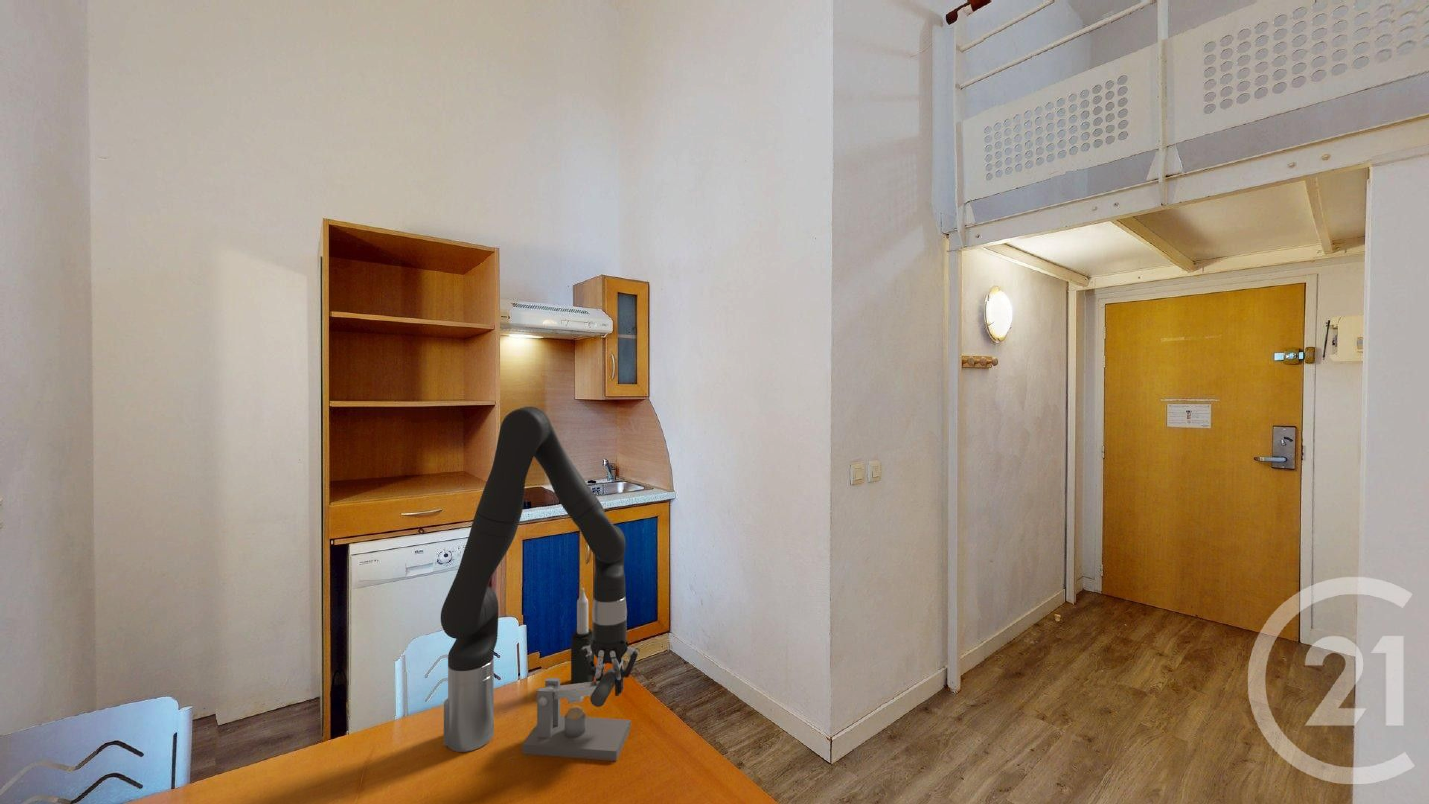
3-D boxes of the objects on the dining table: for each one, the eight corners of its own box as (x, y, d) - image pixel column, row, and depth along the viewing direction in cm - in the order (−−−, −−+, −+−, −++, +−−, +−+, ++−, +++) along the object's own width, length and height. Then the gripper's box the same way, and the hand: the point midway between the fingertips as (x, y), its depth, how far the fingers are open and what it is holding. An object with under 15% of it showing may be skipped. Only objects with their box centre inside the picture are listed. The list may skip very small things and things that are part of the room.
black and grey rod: (587, 688, 140) (587, 592, 140) (569, 686, 141) (569, 590, 141) (595, 678, 145) (595, 585, 145) (578, 676, 146) (578, 584, 146)
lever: (534, 716, 114) (531, 699, 114) (553, 691, 124) (550, 675, 124) (606, 708, 112) (603, 690, 113) (620, 683, 122) (617, 667, 123)
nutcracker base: (522, 753, 114) (522, 697, 114) (544, 723, 125) (544, 671, 125) (616, 760, 112) (616, 703, 112) (630, 728, 123) (630, 676, 123)
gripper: (573, 622, 118) (573, 701, 118) (636, 625, 116) (636, 705, 116) (585, 609, 125) (585, 683, 125) (644, 611, 124) (644, 686, 124)
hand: (609, 693), depth 121 cm, fingers closed on lever, 3 cm apart
